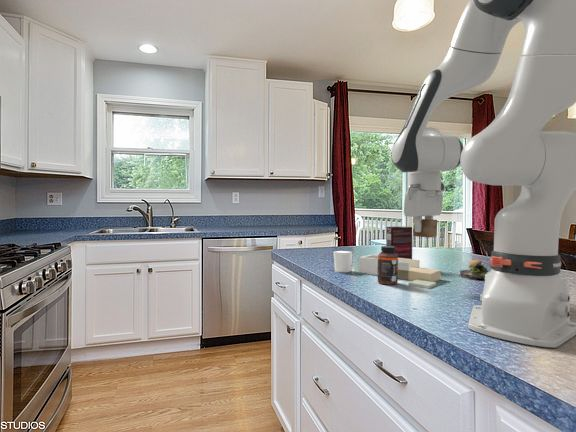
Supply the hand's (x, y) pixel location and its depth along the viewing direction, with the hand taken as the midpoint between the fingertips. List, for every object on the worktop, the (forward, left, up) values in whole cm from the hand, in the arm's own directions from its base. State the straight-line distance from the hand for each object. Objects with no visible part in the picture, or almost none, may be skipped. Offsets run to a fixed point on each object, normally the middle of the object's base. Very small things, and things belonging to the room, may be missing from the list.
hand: (423, 231), depth 105 cm
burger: (+25, -9, -17) cm, 32 cm away
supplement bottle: (-5, +9, -16) cm, 19 cm away
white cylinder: (+2, +30, -16) cm, 34 cm away
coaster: (0, 0, -16) cm, 16 cm away
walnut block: (0, -1, -1) cm, 2 cm away
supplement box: (+22, +18, -16) cm, 33 cm away
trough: (+8, +11, -16) cm, 21 cm away
